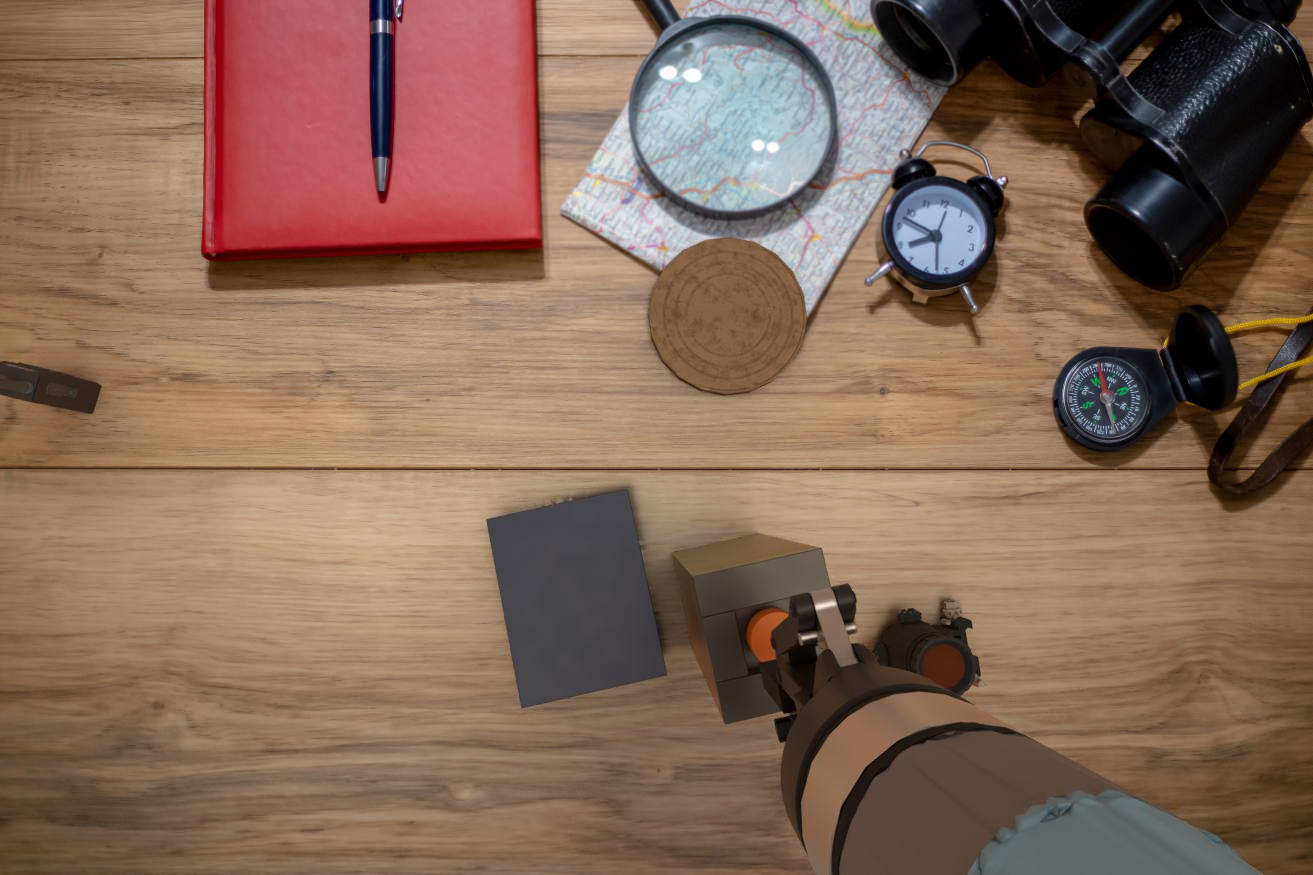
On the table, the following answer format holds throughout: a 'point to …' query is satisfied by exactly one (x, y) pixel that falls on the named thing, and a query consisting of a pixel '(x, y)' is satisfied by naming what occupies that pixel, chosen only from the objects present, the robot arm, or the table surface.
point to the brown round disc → (727, 316)
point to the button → (764, 632)
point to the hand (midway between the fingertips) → (783, 670)
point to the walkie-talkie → (48, 387)
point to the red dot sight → (932, 649)
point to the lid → (575, 598)
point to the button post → (741, 610)
